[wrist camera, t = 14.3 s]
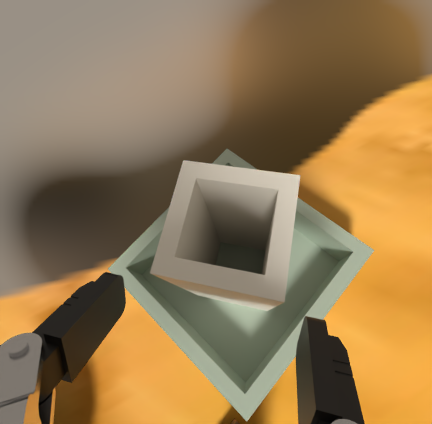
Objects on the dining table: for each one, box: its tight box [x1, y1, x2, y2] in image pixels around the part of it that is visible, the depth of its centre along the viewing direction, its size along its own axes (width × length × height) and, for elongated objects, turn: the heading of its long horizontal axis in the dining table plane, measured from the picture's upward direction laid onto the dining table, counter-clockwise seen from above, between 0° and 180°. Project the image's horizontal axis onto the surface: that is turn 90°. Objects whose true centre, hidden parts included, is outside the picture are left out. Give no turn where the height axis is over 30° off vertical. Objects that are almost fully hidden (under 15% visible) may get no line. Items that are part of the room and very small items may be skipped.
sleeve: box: [150, 160, 300, 311], centre depth 18 cm, size 6×6×12 cm
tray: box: [108, 149, 374, 421], centre depth 22 cm, size 14×14×4 cm
